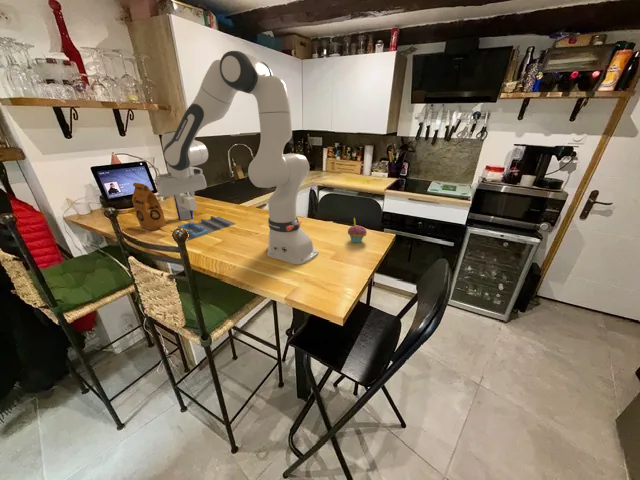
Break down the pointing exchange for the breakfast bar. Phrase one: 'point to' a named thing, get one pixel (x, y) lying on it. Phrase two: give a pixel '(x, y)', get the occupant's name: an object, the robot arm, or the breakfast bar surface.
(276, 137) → the robot arm
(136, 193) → the coffee package
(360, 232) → the cupcake
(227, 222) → the duct board
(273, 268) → the breakfast bar surface
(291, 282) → the breakfast bar surface
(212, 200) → the breakfast bar surface
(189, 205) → the light grey block
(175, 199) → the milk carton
